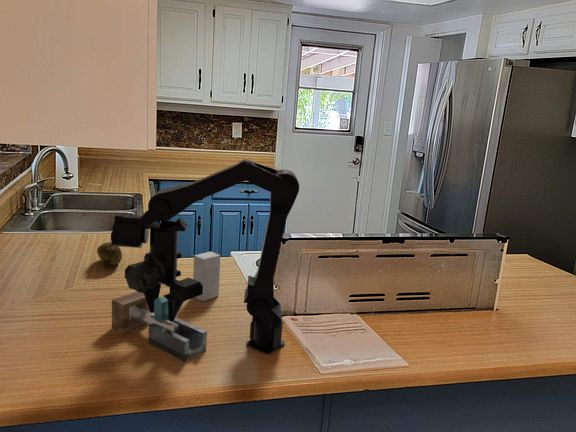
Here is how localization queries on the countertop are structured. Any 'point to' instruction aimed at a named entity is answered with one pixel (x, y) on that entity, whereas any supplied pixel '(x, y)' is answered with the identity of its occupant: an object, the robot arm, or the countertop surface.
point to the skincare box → (207, 274)
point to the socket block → (127, 311)
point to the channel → (179, 340)
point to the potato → (109, 253)
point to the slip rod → (154, 315)
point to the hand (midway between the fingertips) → (162, 316)
